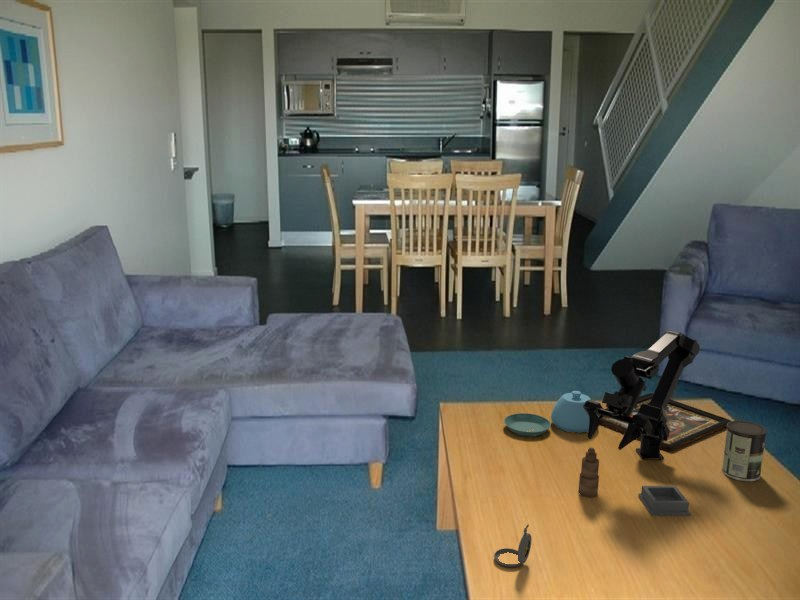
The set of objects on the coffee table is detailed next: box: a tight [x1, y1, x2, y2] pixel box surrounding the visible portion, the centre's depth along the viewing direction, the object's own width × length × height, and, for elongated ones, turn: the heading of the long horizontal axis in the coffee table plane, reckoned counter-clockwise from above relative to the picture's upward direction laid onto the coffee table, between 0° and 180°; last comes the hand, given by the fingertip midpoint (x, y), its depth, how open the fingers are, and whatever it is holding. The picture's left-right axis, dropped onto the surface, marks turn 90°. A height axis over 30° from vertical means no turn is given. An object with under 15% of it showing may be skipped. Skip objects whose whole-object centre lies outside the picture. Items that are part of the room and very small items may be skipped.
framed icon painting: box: [600, 392, 732, 453], centre depth 254 cm, size 38×35×3 cm
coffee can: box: [721, 420, 768, 482], centre depth 218 cm, size 10×10×14 cm
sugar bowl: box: [550, 390, 592, 434], centre depth 250 cm, size 15×15×12 cm
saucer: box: [503, 412, 552, 437], centre depth 247 cm, size 15×15×3 cm
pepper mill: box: [577, 447, 600, 498], centre depth 205 cm, size 5×5×13 cm
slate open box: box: [637, 485, 692, 517], centre depth 201 cm, size 10×10×3 cm
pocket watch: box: [493, 524, 532, 568], centre depth 174 cm, size 8×8×10 cm
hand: (603, 443), depth 208 cm, fingers open, 9 cm apart
